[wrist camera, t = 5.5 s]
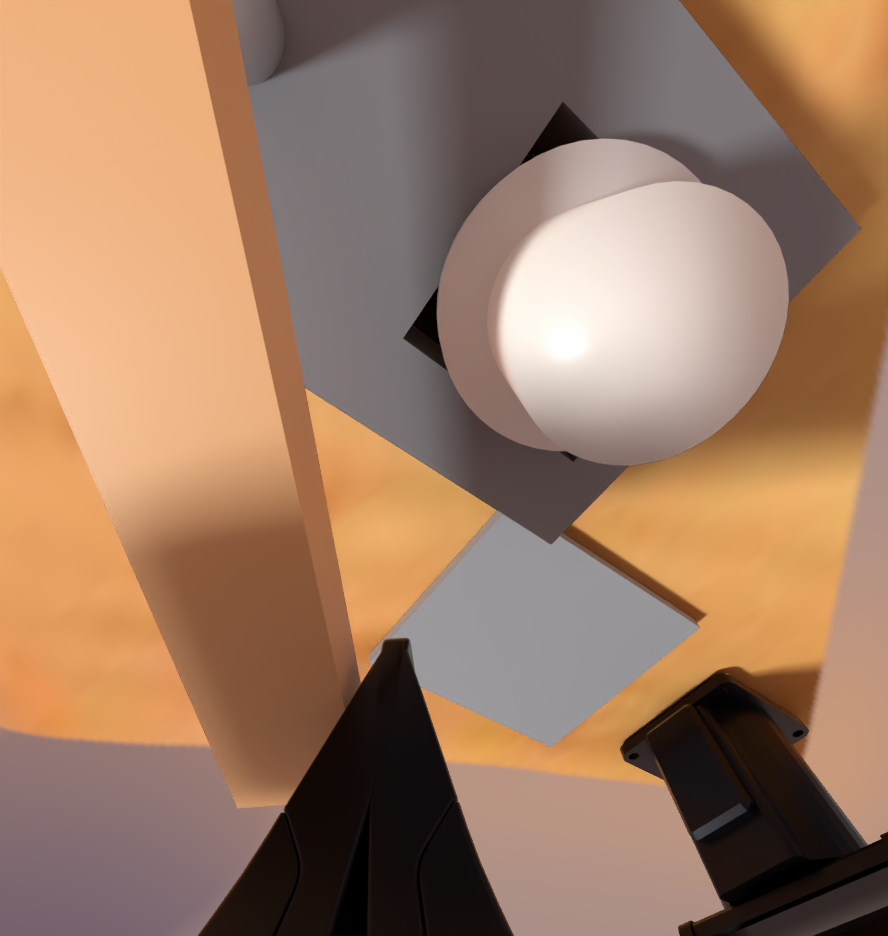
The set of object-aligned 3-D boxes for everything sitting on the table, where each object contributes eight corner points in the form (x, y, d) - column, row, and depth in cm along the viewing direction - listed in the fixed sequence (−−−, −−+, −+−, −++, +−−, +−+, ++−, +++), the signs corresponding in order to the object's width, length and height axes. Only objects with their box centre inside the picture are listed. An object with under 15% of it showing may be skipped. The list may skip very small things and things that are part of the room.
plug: (685, 274, 13) (943, 294, 6) (545, 434, 15) (637, 570, 8) (527, 118, 11) (667, -64, 5) (392, 323, 13) (364, 388, 7)
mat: (693, 618, 18) (700, 627, 18) (548, 736, 21) (550, 747, 21) (508, 497, 16) (511, 504, 15) (370, 653, 19) (369, 663, 18)
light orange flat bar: (375, 736, 10) (370, 797, 9) (253, 746, 10) (232, 808, 8) (156, -463, 3) (35, -797, 2) (-193, -455, 3) (-484, -791, 2)
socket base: (765, 234, 12) (1124, 212, 6) (528, 494, 16) (601, 657, 9) (361, -218, 9) (196, -1507, 2) (160, 248, 12) (-137, 241, 6)
